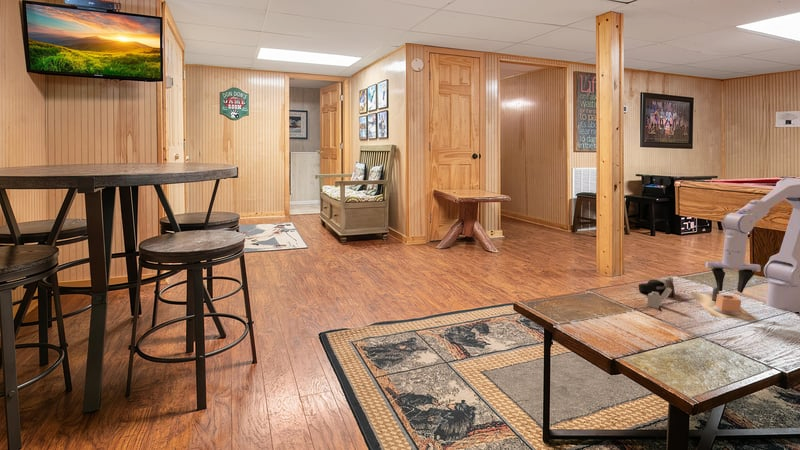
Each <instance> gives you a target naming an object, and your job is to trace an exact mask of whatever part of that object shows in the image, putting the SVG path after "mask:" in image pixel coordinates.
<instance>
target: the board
mask: <svg viewBox="0 0 800 450" xmlns="http://www.w3.org/2000/svg"><path fill="white" fill-rule="evenodd" d="M717 294H720V291H718V290H717V286H716V287H713V288H712V293H711V294H707V293H692V292H689V295H690V296H691V297H693V299H695V301H697V303H699V304H700V305H701V306H702V307H703V309H705V311H707V312H708V314H710V315H711V316H712V317H718V318H719V317H720V318H729V319H730V318H731V319H742V320H743V319H744V320H752V321H753V320H754V321H757V320H758V319H757V318H755V316H753V315H752V314H750V313H749V312H748V311H747V310H746V309H744V308H743V307H742V306H740V312H730V311H721V310H720V309H719V308H718V307H717V306H716V299H717ZM726 298H728V299H732V298H729V297H726Z"/></svg>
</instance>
